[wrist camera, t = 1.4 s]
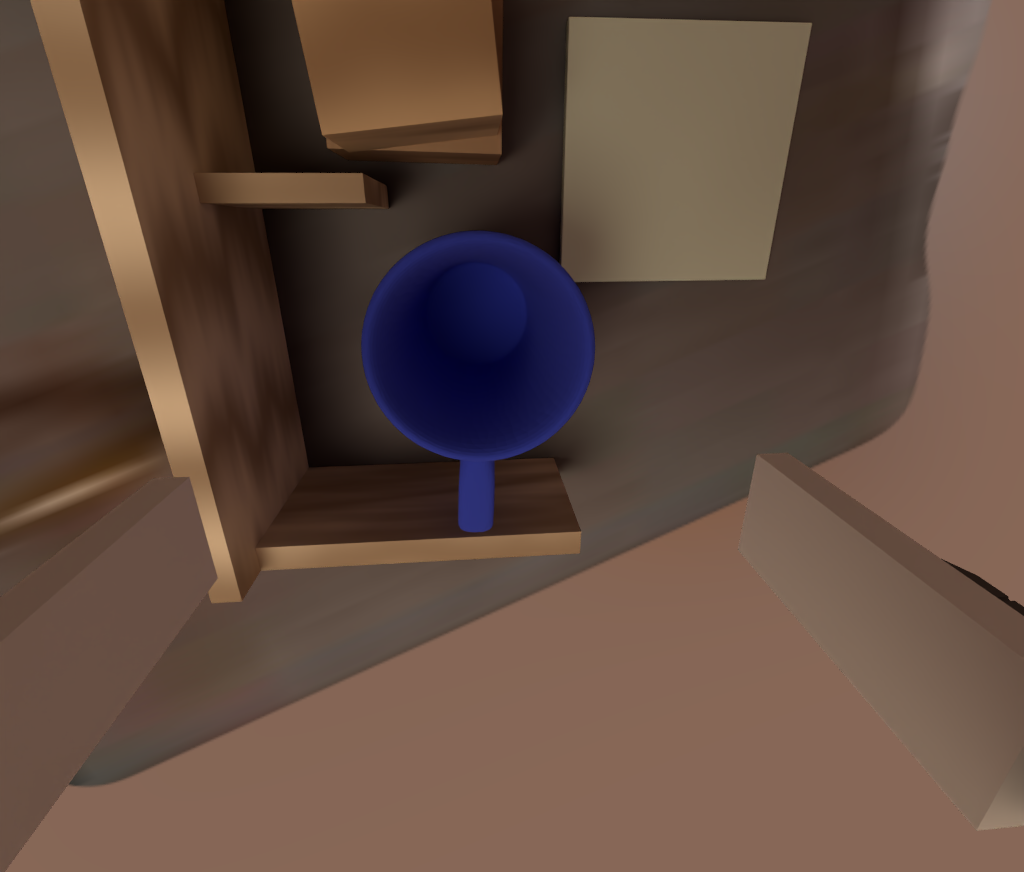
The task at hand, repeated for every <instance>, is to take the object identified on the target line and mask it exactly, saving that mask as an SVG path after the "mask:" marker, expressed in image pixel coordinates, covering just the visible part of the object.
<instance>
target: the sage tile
mask: <svg viewBox="0 0 1024 872" xmlns="http://www.w3.org/2000/svg"><path fill="white" fill-rule="evenodd" d="M811 26H812V23H797V22H758V21H718V20H679V19H640V18H601V17H569V18H568V20H567V29H566V62H565V96H564V129H563V163H562V196H561V229H560V263H559V264H560V265H561V266H562V267H563V268H564V269H565V270H566V271H567V272H568V274H569V275H570V276H571V277H572V279H573V280H574V282H616V281H689V280H762V279H765V277H766V272H767V266H768V261H769V255H770V250H771V245H772V239H773V234H774V228H775V223H776V217H777V212H778V206H779V201H780V195H781V190H782V185H783V179H784V174H785V168H786V163H787V157H788V152H789V146H790V141H791V135H792V130H793V124H794V119H795V114H796V108H797V103H798V97H799V92H800V86H801V81H802V75H803V70H804V64H805V59H806V54H807V48H808V43H809V37H810V32H811Z"/></svg>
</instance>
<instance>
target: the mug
mask: <svg viewBox="0 0 1024 872" xmlns="http://www.w3.org/2000/svg"><path fill="white" fill-rule="evenodd" d="M361 347H362V360H363V367H364V371H365V376H366V379H367V382H368V385H369V387H370V390H371V392H372V394H373V396H374V398H375V400H376V402H377V404H378V405H379V407H380V408H381V410H382V411H383V413H384V414H385V416H386V417H387V418H388V419H389V420H390V422H391V423H392V424H393V425H394V426H395V427H396V428H397V429H398V430H399V431H400V432H401V433H402V434H404V435H405V436H406V437H408V438H409V439H410V440H412V441H413V442H415V443H416V444H418V445H419V446H421V447H423V448H425V449H427V450H429V451H432V452H434V453H436V454H439V455H442V456H445V457H449V458H452V459H458V460H460V472H459V498H458V525H459V527H460V528H461V529H462V530H463V531H467V532H485V531H487V530H490V529H491V528H492V526H493V520H494V496H495V460H501V459H506V458H510V457H513V456H516V455H519V454H522V453H524V452H526V451H529V450H531V449H533V448H535V447H537V446H538V445H540V444H542V443H543V442H545V441H546V440H548V439H549V438H550V437H551V436H553V435H554V434H555V433H556V432H558V431H559V429H560V428H561V427H562V426H563V425H564V424H565V423H566V422H567V421H568V420H569V419H570V417H571V416H572V415H573V414H574V412H575V411H576V409H577V407H578V406H579V404H580V403H581V401H582V399H583V397H584V395H585V393H586V390H587V387H588V385H589V382H590V378H591V375H592V370H593V365H594V357H595V336H594V328H593V323H592V319H591V315H590V312H589V309H588V306H587V303H586V301H585V299H584V297H583V295H582V293H581V291H580V289H579V287H578V286H577V285H576V283H575V282H574V280H573V279H572V277H571V276H570V275H569V274H568V272H567V271H566V270H565V269H564V268H563V267H562V266H561V265H560V264H559V263H558V262H557V261H556V260H555V259H554V258H552V257H551V256H550V255H549V254H548V253H546V252H545V251H543V250H542V249H540V248H538V247H537V246H535V245H533V244H531V243H529V242H527V241H525V240H523V239H520V238H517V237H514V236H511V235H508V234H504V233H499V232H492V231H462V232H456V233H451V234H447V235H444V236H440V237H438V238H435V239H432V240H430V241H428V242H426V243H424V244H422V245H420V246H418V247H417V248H415V249H413V250H412V251H410V252H409V253H408V254H406V255H405V256H404V257H403V258H401V259H400V260H399V261H398V262H397V263H396V264H395V265H394V266H393V267H392V268H391V269H390V270H389V272H388V273H387V274H386V275H385V277H384V278H383V279H382V281H381V282H380V284H379V285H378V287H377V289H376V290H375V292H374V294H373V296H372V298H371V301H370V303H369V306H368V308H367V312H366V315H365V319H364V324H363V329H362V341H361Z"/></svg>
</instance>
